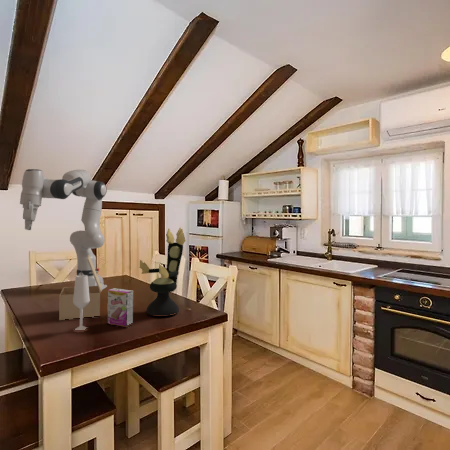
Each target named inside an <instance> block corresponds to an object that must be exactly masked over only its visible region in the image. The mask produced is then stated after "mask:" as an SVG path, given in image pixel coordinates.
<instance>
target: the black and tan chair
mask: <svg viewBox="0 0 450 450" xmlns="http://www.w3.org/2000/svg"><path fill="white" fill-rule="evenodd" d="M167 229H168V230H166V231H167V232H166V241H165V242H167V244H168V245H167V256H166V257H167V259H166V267H164V266H162V265H161V264H158V268H150V267H149V266H148V264H147V263H146V262H145V261H143V260H141V259H139V269H141V274H144V275H145V274H154V273H156V274H157V273H158V274H160V277H158V278H156V279H154V280H153V281H151V283H150V284H149V289H150V290H151V291H152V292H153V293H156V295H157V296H156V297H155V299H154V300H152V301H151V302H150V303H149V305H147V307H146V313H147V314H148V315H149V314H150V315H149V316H151V315H170V314H174V313H177V312H178V313H179V312H180V308H179V306H178V304H177V303H176V302H175V301H174V300H173V299H172V298H171V297H170V294H169V293H172V292H174V291H176V289H177V287H178V284H177V283H178V282H177V281H178V277H179V276H178V275H179V269H180V266H181V260H182V256H183V251H184V243H185V242H186V237H185V234H184V233H185V232H184V230H183V228H182V227H181V226H179V229H178V230H177V232H176V238H175V237H174V234H173V233H172V232H171V230H170V229H171V228H167ZM178 313H177V314H178Z"/></svg>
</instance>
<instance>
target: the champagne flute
mask: <svg viewBox="0 0 450 450" xmlns="http://www.w3.org/2000/svg"><path fill="white" fill-rule="evenodd" d="M75 278H76V279H75ZM75 278H74V279H75V280H74V287H75V288H74V297H73V303H74V305H75V306H77V307H78V308H80V319H79V326H77V327H76V328H74V329H75V330H85V329H86V328H88V327H86V326H85V325H83V323H84V322H83V319H84V318H83V308H84V307H85V306H86V305H87V304H88V303H89V301H90V297H89V286H88V276H87V275H78V276H77V275H75Z"/></svg>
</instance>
